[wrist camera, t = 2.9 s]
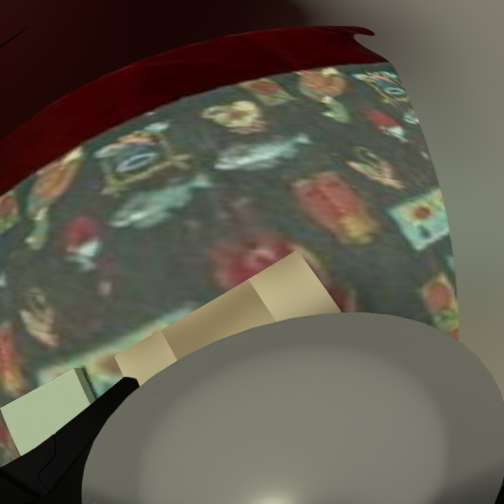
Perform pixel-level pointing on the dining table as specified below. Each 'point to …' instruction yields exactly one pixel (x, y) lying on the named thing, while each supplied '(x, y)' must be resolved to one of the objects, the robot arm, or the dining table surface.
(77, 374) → the pad
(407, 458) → the dome-ended metal peg
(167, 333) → the socket block
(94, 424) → the robot arm
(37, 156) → the dining table surface
